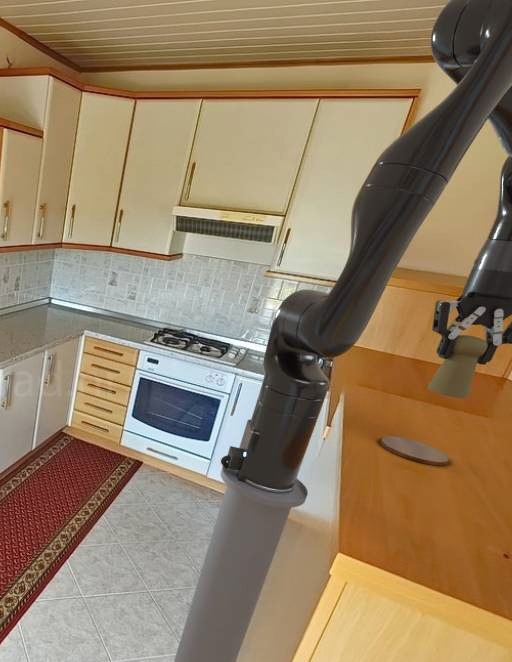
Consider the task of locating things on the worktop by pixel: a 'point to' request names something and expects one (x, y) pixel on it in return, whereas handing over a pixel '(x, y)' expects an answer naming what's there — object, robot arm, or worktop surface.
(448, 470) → the worktop surface
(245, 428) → the robot arm
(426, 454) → the disc
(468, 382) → the cork
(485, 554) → the worktop surface
